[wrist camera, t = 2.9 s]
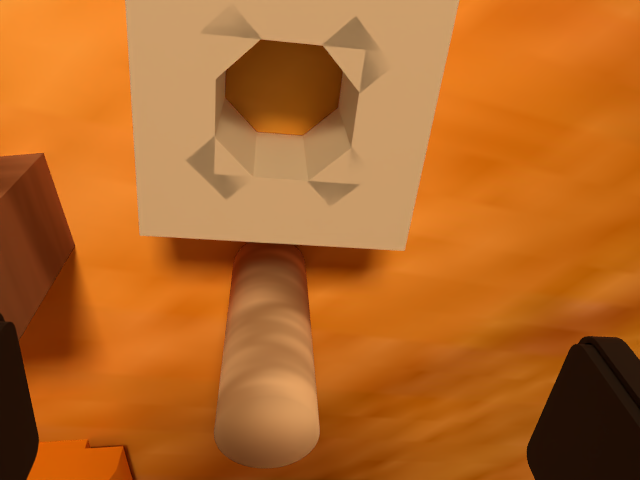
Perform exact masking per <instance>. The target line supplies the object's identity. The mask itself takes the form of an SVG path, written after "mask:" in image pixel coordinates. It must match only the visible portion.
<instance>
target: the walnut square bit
mask: <svg viewBox="0 0 640 480" xmlns="http://www.w3.org/2000/svg"><path fill="white" fill-rule="evenodd" d="M74 247H75V244H74V241H73V238H72V235H71V232H70V229H69V226H68V224H67V221H66V218H65V215H64V212H63V209H62V206H61V203H60V200H59V197H58V194H57V191H56V188H55V185H54V182H53V180H52V177H51V174H50V171H49V168H48V165H47V162H46V159H45V156H44V153H37V154H25V155H13V156H2V157H0V313H1V314H2V316H3V317H4V320H5V321H6V322H13V324H14V325H15V328H16V332H17V336H18V341H19V339H20V338H21V336H22V334H23V333H24V331H25V329H26V328H27V326H28V324H29V323H30V321H31V319H32V317H33V316H34V314H35V312H36V311H37V309H38V307H39V306H40V304H41V302H42V301H43V299H44V297H45V296H46V294H47V292H48V290H49V289H50V287H51V285H52V284H53V282H54V280H55V279H56V277H57V275H58V274H59V272H60V270H61V269H62V267H63V265H64V263H65V262H66V260H67V258H68V257H69V255H70V253H71V252H72V250H73V248H74Z"/></svg>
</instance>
